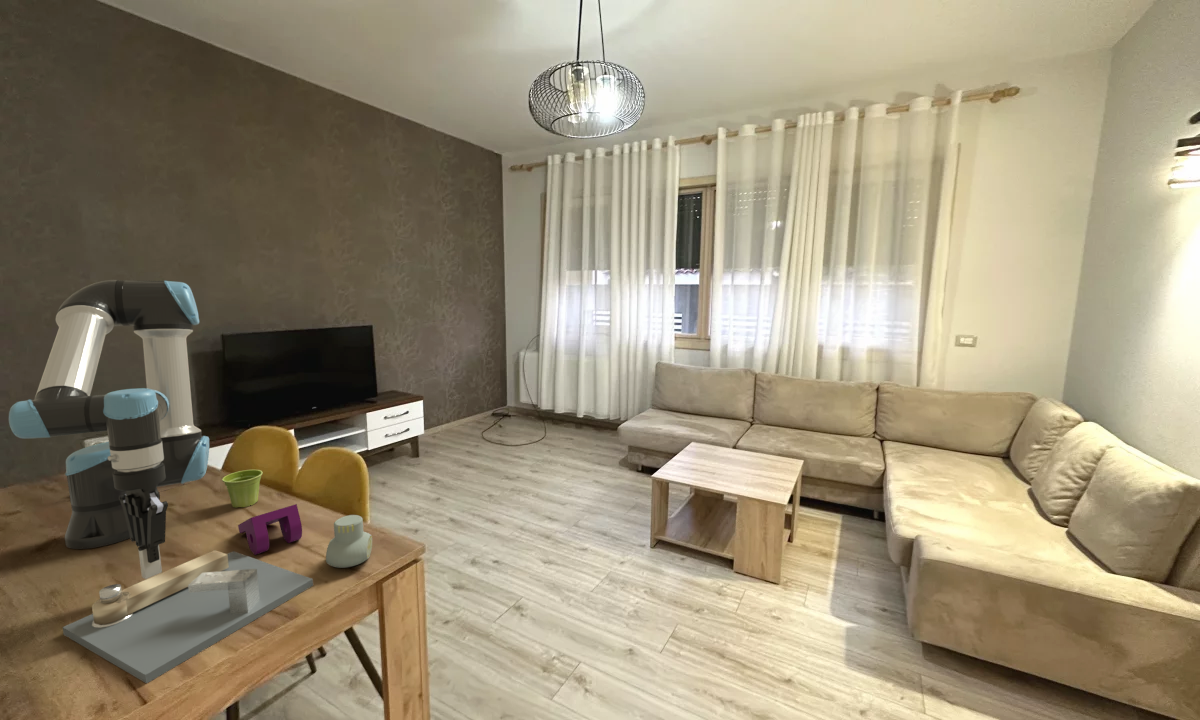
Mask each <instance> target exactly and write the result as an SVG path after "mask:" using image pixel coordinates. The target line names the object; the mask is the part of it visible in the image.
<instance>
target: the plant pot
mask: <svg viewBox="0 0 1200 720" xmlns="http://www.w3.org/2000/svg"><path fill="white" fill-rule="evenodd" d="M262 475H263V471H262V470H260V469H246V470H239V471H236V472H232V473H229V474H227V475H225V476H224V477H222V479H221V480H222V482H223V484H224V485H225V486H226V489H227V492H228V496H229V499H230V503H231V507H233V508H247V507H251V506H253V505H255V504H256V503H257V502H258V501H259V492H260V482H261V479H262ZM250 505H251V506H250Z"/></svg>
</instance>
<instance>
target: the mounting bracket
mask: <svg viewBox="0 0 1200 720" xmlns="http://www.w3.org/2000/svg"><path fill="white" fill-rule="evenodd" d="M301 521H302V520H301V516H300V513H299V507H298V505H297V503H295V504H292V505H289V506H286V507H282V508H279V509H276V510H275V509H274V510H272V511H269V512H266V513H262V514H258V515H256V516H253V517H252V516H251V517H249V518H248V519H245V520H244V521H243V522H241V523H239V524H238V525H237V527H238V531H239V534H244V533H245V534H246V539H247V540H246V541H247V544H248V547H249V550H250V551H251V553H252V554H253V555H254V556H256V555H258V554H262V553H264V552H268V551H269V548H270V538H269V532H268V527H267V526H269V525H272V524H275V523H278V524H279V527H280V533H281V535H282V538H283V540H284V541H285V542H286V543H287V544H290V543H293V542H295V541H299V540H301V539H302V537H303V526H302V522H301Z"/></svg>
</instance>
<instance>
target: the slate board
mask: <svg viewBox="0 0 1200 720" xmlns="http://www.w3.org/2000/svg"><path fill="white" fill-rule="evenodd" d="M226 554H227V555H228V565H229V568H227V569H224V570H222V571H232V570H246V569H257V576H258V587H259V598H260V600H259V601H258V602H257V603H256V604H255V605H254V606H253V608H252V609H251V610H250V611H249V612H248V613H239V614H230V604H229V594H228V590H217V591H204V592H191V593H189V590H188V587H186V588H184V589H182V590H180V591H178V592H175V593H173V594H171V595H169V596H167V597H165V598H163V599H161V600H158V601H156V602H154V603H152V604H150V605H148V606H146V607H144V608H141V609H139V610H137V611H135V613H134V614H133V615H132V616H131V617H130V618H128V619H126V620H125V621H123V622H121V623H118V624H116V625H113V626H109V627H105V628H94V627H93V626H92V622H93V621H94V617H93V613H91V614H90V615H87V616H85V617H82V618H80V619H78V620H76V621H74V622H71V623H69V624H66V625H65V626H62V632H63V636H65V637H66V638H68V637H69V638H68V639H70V640H71V641H73V642H75V643H77V644H79V645H80V646H82V647H83V648H85V649H86V650H89V651H91V652H92V653H94V654H95V655H98V656H99V657H101V658H102V659H104V660H106V661H107V662H109V663H111V664H113V665H114V666H116V667H118V669H119V668H120V669H122V671H124V672H126V673H128V674H130V675H131V676H133V677H134V678H136V679H138V680H140V681H141V682H143V683H145V684H149V682H151V681H154V680H155V679H157V678H159V677H161V676H162V675H163V674H166V673H167V672H168V671H170V670H172V669H174V668H176V667H177V666H179V665H181V664H182V663H184V662H186V661H188V660H189V659H190V658H193V657H194V656H196V655H198V654H199V653H201V652H202V651H204V650H206V649H208V648H210V647H211V646H213V645H214V644H216V643H218V642H220V641H222V640H223V639H225V638H227V637H228V636H230V635H232V634H233V633H235V632H236V631H238V630H240V629H242V628H243V627H245V626H247V625H249V624H251V623H252V622H253V621H255V620H258V619H259V618H260V617H262V616H265V615H266V614H267V613H269V612H270V611H273V610H274V609H276V608H277V607H279V606H281V605H282V604H284V603H286V602H287V601H289V600H291V599H293V598H295V597H297V596H298V595H299V594H301V593H303V592H305V591H306V590H308V589H310V588H311V587H314V580H313V578H312V577H309V576H306V575H303V574H300V573H297V572H294V571H292V570H288V569H285V568H283V567H279V566H277V565H274V564H272V563H269V562H266V561H262V560H260V559H257V558H254V557H251V556H249V555H246V554H243V553H239V552H237V551H234V550H233V551H231V552H228V553H226Z"/></svg>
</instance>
